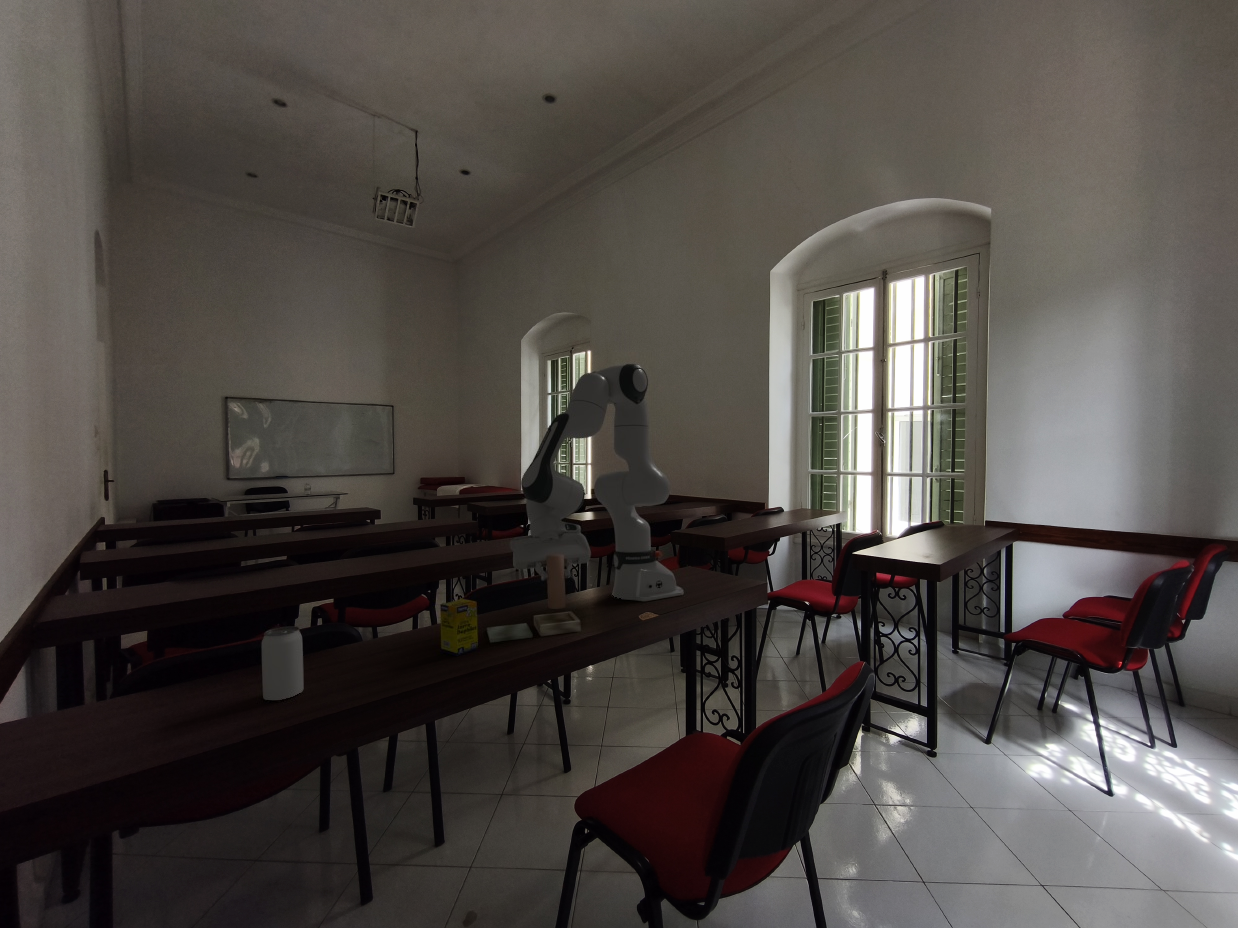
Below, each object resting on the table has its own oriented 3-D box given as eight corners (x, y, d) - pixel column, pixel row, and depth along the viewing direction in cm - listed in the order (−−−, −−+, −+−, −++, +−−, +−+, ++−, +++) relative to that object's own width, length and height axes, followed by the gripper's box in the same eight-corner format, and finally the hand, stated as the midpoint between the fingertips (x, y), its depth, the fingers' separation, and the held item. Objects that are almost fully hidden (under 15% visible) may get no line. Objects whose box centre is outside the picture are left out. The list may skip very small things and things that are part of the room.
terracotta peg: (563, 603, 143) (561, 553, 143) (567, 607, 139) (565, 556, 139) (546, 605, 141) (544, 554, 141) (550, 609, 137) (548, 557, 137)
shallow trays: (571, 620, 146) (571, 611, 146) (580, 631, 137) (580, 621, 137) (486, 630, 139) (486, 620, 139) (490, 642, 130) (490, 631, 130)
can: (281, 687, 106) (280, 625, 106) (311, 688, 105) (309, 625, 105) (254, 701, 100) (252, 635, 100) (285, 703, 99) (283, 636, 99)
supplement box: (457, 656, 121) (455, 607, 121) (440, 651, 124) (439, 603, 124) (478, 649, 125) (477, 601, 125) (462, 644, 129) (461, 598, 129)
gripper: (509, 530, 143) (515, 574, 134) (585, 524, 150) (596, 566, 140) (508, 545, 148) (514, 589, 138) (582, 539, 154) (592, 580, 145)
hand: (556, 577), depth 139 cm, fingers closed on terracotta peg, 4 cm apart
